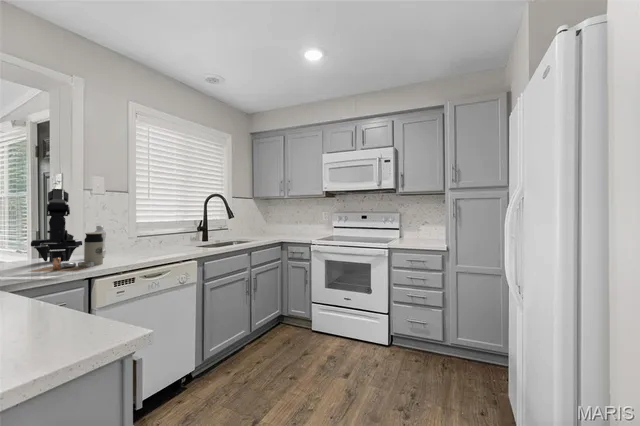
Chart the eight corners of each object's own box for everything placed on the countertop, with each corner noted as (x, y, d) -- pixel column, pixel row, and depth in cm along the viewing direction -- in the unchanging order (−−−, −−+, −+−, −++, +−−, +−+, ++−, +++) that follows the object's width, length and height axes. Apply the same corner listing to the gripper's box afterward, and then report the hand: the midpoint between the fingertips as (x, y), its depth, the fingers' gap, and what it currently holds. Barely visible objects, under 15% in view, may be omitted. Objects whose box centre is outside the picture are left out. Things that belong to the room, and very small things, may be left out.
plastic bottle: (108, 257, 195) (108, 225, 195) (96, 258, 188) (97, 226, 188) (102, 256, 197) (102, 225, 197) (90, 257, 191) (91, 225, 191)
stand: (27, 274, 140) (27, 266, 140) (49, 268, 154) (49, 261, 154) (77, 273, 143) (77, 266, 143) (94, 268, 157) (94, 261, 157)
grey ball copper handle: (65, 265, 154) (65, 255, 154) (78, 265, 155) (78, 254, 155) (47, 270, 142) (47, 258, 142) (61, 270, 143) (61, 258, 143)
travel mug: (80, 266, 160) (81, 232, 160) (97, 264, 167) (98, 232, 167) (88, 268, 156) (89, 233, 156) (105, 266, 163) (106, 232, 163)
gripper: (89, 227, 153) (88, 258, 153) (47, 227, 150) (47, 258, 150) (75, 228, 142) (74, 262, 142) (29, 228, 139) (29, 262, 139)
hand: (56, 261), depth 144 cm, fingers open, 9 cm apart
